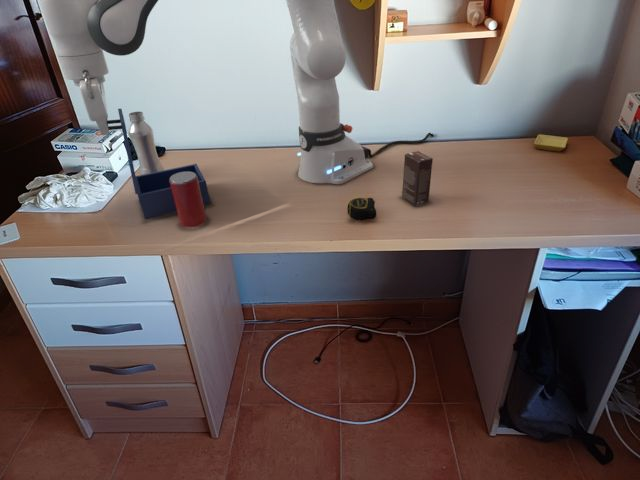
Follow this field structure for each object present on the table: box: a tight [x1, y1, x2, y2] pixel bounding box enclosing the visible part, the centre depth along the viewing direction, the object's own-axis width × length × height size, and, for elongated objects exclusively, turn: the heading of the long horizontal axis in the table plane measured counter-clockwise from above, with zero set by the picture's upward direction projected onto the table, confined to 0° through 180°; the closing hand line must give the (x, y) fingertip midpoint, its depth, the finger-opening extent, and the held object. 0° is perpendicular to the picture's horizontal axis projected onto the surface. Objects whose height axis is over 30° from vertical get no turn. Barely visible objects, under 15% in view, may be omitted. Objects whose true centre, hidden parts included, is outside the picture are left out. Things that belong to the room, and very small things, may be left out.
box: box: [401, 150, 434, 207], centre depth 111 cm, size 6×4×12 cm
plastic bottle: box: [128, 111, 165, 175], centre depth 128 cm, size 6×7×20 cm
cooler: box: [135, 163, 211, 220], centre depth 118 cm, size 17×13×7 cm
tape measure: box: [346, 197, 377, 222], centre depth 108 cm, size 7×7×4 cm
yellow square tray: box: [533, 133, 569, 152], centre depth 138 cm, size 9×9×2 cm
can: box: [169, 171, 207, 228], centre depth 107 cm, size 6×6×12 cm
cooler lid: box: [106, 108, 139, 195], centre depth 108 cm, size 17×13×5 cm
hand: (105, 129), depth 104 cm, fingers open, 6 cm apart
